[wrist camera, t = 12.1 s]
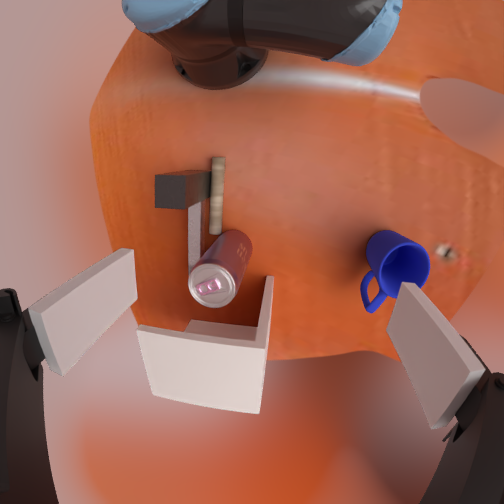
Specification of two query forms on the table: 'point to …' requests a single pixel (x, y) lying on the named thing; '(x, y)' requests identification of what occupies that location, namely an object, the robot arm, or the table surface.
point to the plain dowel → (216, 195)
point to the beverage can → (220, 270)
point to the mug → (393, 266)
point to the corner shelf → (210, 361)
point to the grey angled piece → (186, 204)
